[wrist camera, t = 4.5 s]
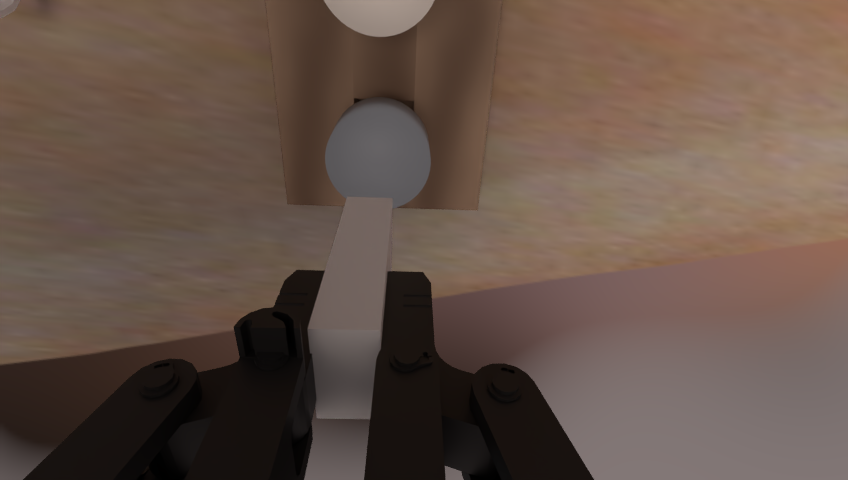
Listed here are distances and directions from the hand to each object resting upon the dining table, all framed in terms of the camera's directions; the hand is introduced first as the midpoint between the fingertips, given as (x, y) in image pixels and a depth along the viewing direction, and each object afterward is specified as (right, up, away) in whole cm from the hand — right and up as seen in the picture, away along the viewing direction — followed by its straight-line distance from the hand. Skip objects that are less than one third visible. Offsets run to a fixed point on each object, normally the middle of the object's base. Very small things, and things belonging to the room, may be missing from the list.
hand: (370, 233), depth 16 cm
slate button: (0, +6, +11) cm, 12 cm away
